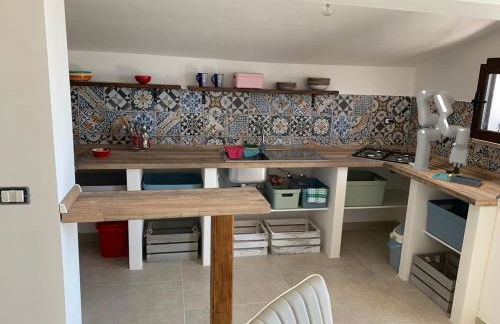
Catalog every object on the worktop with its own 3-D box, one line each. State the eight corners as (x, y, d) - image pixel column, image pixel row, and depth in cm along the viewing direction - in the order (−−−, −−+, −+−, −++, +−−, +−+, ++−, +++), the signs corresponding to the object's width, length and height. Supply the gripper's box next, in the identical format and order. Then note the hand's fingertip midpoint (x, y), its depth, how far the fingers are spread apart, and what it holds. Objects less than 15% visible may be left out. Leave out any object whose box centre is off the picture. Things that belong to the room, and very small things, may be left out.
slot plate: (449, 182, 255) (450, 177, 254) (456, 178, 265) (456, 174, 264) (476, 187, 244) (477, 182, 243) (481, 183, 254) (482, 179, 253)
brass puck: (447, 179, 259) (445, 175, 259) (448, 178, 263) (446, 175, 263) (454, 176, 256) (453, 173, 256) (455, 175, 260) (454, 172, 260)
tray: (431, 178, 262) (431, 175, 262) (438, 175, 272) (438, 172, 272) (449, 182, 255) (449, 179, 254) (455, 178, 265) (456, 176, 264)
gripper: (447, 144, 256) (442, 171, 260) (471, 149, 246) (466, 176, 251) (450, 143, 261) (445, 169, 266) (474, 147, 251) (469, 174, 256)
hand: (455, 172), depth 258 cm, fingers closed
